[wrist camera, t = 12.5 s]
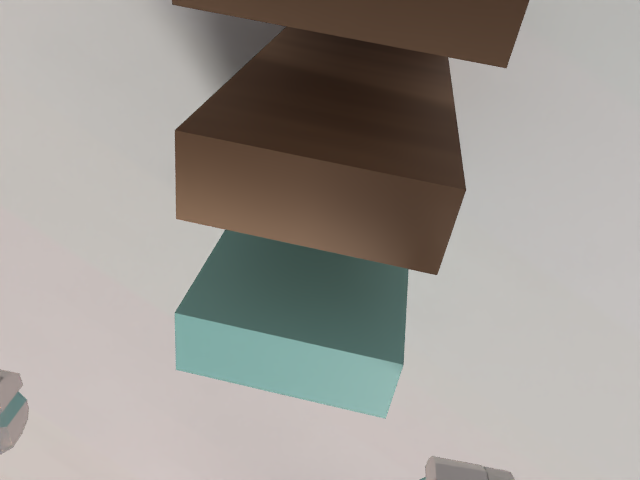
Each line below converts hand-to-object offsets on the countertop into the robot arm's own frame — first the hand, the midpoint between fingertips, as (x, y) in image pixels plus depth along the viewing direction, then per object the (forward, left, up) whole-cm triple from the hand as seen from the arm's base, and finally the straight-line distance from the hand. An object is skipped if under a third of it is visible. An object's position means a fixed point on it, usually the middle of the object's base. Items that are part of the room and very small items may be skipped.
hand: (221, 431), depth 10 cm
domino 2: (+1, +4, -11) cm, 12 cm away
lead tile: (+1, 0, -11) cm, 11 cm away
